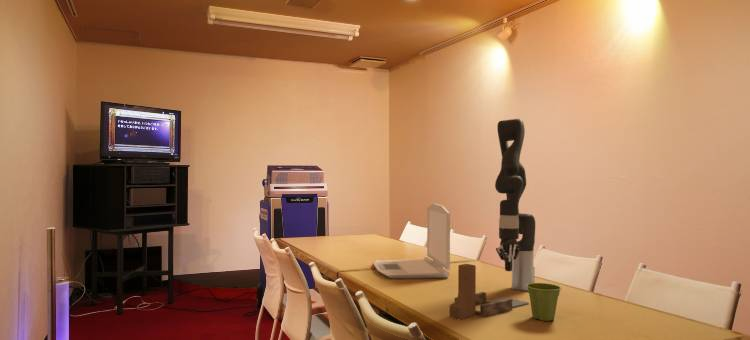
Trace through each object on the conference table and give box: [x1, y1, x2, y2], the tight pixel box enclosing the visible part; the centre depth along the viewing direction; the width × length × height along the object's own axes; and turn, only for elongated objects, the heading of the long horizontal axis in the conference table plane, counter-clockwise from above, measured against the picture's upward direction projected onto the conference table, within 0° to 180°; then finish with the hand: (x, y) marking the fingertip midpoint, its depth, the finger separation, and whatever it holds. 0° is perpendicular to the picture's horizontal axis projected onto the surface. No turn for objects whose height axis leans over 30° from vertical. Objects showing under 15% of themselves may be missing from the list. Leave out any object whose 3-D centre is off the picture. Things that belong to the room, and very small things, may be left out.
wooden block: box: [449, 263, 477, 320], centre depth 175 cm, size 9×4×18 cm, turn 128°
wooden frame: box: [454, 291, 513, 318], centre depth 185 cm, size 16×14×4 cm
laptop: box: [373, 203, 451, 279], centre depth 256 cm, size 42×33×35 cm
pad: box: [489, 296, 530, 309], centre depth 194 cm, size 10×11×1 cm
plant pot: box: [526, 282, 562, 322], centre depth 174 cm, size 12×12×11 cm
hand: (508, 270), depth 194 cm, fingers closed
